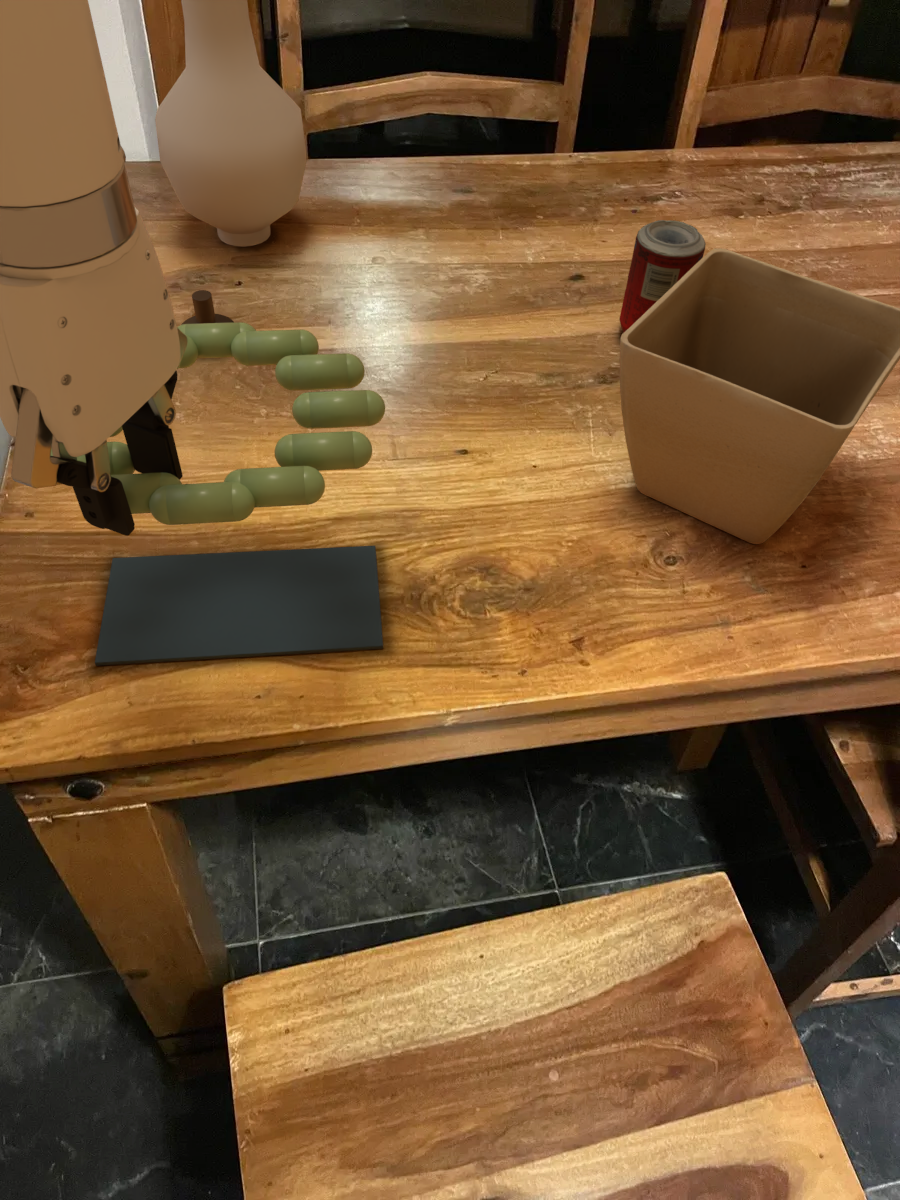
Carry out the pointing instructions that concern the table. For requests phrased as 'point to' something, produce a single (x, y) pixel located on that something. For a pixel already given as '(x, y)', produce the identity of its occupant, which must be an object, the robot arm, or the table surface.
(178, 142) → the vase
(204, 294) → the ring stand
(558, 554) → the table surface
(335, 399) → the ring
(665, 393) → the flower pot
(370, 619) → the mat
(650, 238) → the soda can
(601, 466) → the table surface
